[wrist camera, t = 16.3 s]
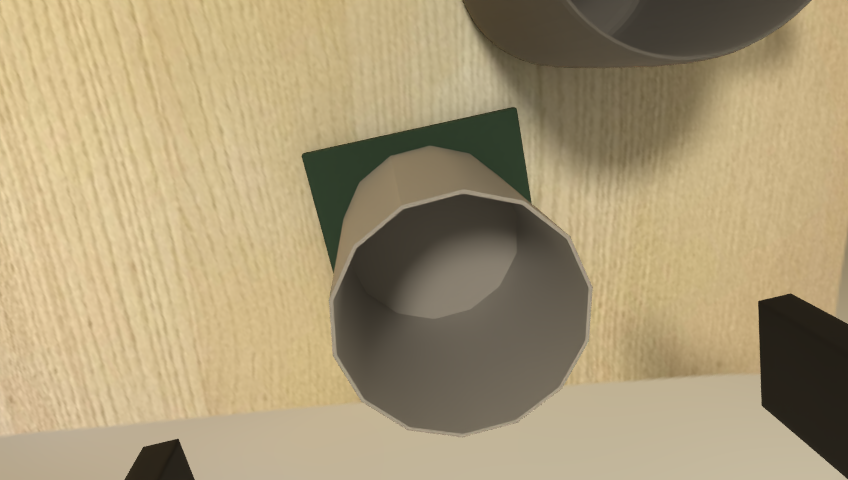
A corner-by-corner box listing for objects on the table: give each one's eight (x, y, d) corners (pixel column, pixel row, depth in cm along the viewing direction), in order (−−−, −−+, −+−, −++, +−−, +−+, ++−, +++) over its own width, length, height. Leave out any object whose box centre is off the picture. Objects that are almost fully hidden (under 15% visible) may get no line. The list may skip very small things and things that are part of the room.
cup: (513, 311, 29) (582, 428, 20) (349, 320, 29) (338, 445, 19) (518, 142, 27) (599, 184, 17) (339, 148, 26) (321, 194, 17)
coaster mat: (354, 344, 30) (354, 349, 29) (302, 153, 27) (301, 155, 26) (544, 301, 30) (547, 305, 30) (513, 107, 27) (516, 107, 27)
